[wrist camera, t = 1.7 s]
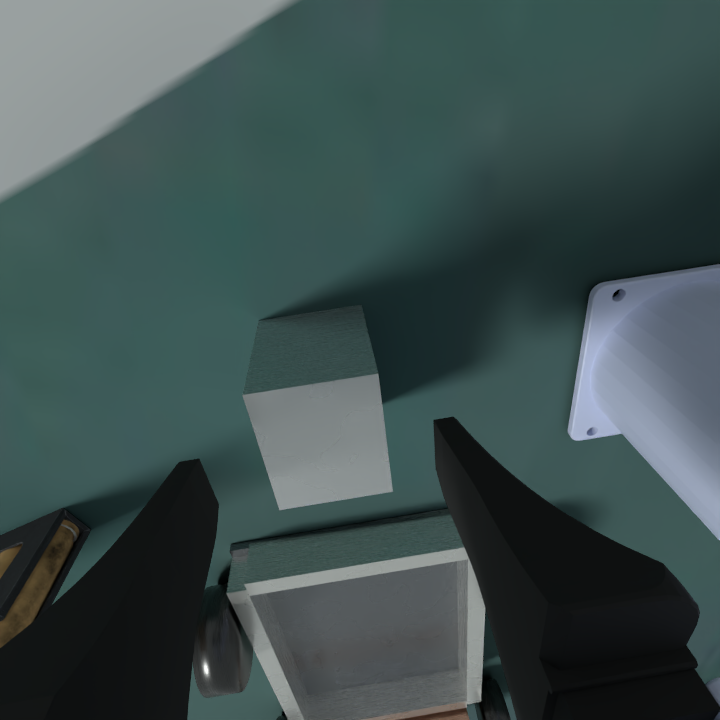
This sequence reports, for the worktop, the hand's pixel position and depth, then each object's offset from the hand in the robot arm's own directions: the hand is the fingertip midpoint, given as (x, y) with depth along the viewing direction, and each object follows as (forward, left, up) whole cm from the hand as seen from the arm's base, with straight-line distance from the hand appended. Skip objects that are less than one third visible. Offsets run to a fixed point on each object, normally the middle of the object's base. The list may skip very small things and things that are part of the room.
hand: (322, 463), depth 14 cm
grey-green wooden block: (0, 0, -6) cm, 6 cm away
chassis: (0, +22, -6) cm, 23 cm away
